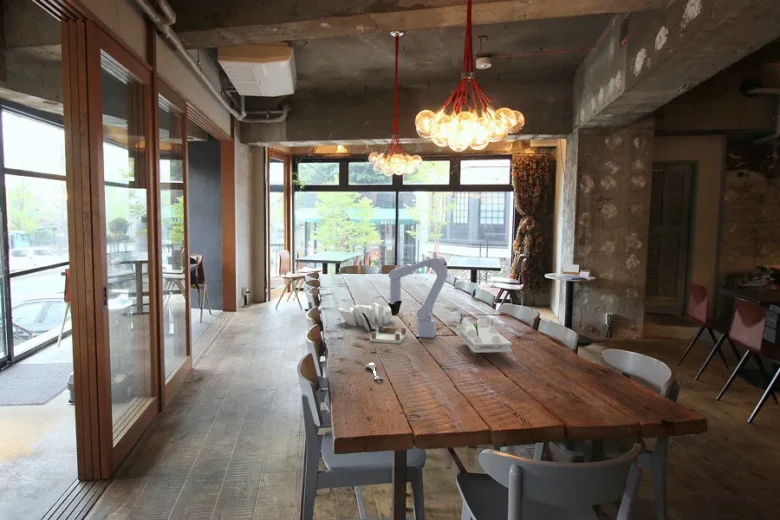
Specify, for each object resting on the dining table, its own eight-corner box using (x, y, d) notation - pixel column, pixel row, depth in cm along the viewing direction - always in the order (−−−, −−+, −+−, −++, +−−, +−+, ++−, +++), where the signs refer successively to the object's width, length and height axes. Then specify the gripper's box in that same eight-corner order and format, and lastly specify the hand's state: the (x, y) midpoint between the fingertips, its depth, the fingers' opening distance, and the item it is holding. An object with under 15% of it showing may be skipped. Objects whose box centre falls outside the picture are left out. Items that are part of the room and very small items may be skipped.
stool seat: (407, 335, 255) (407, 327, 255) (399, 343, 240) (399, 334, 240) (379, 333, 260) (379, 325, 259) (370, 341, 244) (369, 332, 244)
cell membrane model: (512, 361, 210) (512, 324, 208) (465, 363, 208) (466, 325, 206) (488, 341, 245) (489, 309, 243) (448, 342, 243) (449, 310, 241)
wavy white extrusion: (341, 327, 276) (340, 309, 275) (337, 321, 292) (336, 304, 291) (398, 324, 285) (398, 306, 284) (391, 318, 301) (391, 302, 300)
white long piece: (386, 372, 184) (374, 373, 183) (386, 381, 184) (374, 382, 183) (374, 360, 204) (364, 361, 202) (374, 368, 204) (364, 369, 203)
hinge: (376, 330, 267) (370, 314, 265) (369, 333, 266) (363, 317, 264) (369, 323, 283) (364, 308, 281) (362, 326, 282) (357, 311, 280)
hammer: (377, 332, 257) (377, 326, 256) (379, 330, 259) (379, 325, 259) (394, 333, 254) (394, 327, 254) (395, 332, 257) (395, 326, 256)
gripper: (392, 288, 268) (392, 311, 269) (384, 292, 254) (384, 316, 255) (404, 288, 266) (403, 312, 267) (397, 292, 252) (397, 317, 253)
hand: (395, 314), depth 261 cm, fingers open, 5 cm apart
